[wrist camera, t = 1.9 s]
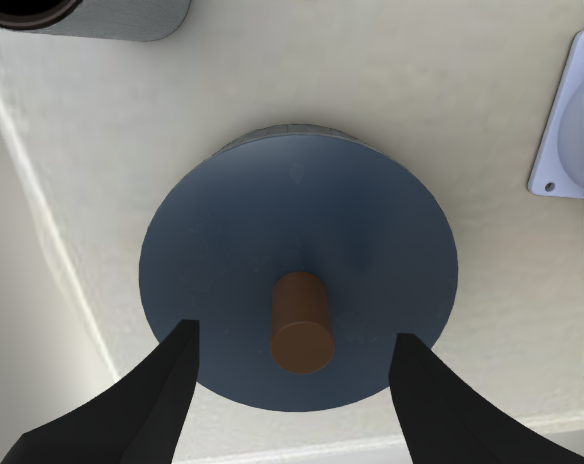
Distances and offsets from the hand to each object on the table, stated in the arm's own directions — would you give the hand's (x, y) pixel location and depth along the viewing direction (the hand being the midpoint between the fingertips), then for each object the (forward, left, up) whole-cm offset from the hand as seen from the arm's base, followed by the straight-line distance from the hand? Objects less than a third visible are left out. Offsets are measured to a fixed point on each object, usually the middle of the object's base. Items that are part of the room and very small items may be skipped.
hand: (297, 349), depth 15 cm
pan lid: (0, 0, -4) cm, 5 cm away
